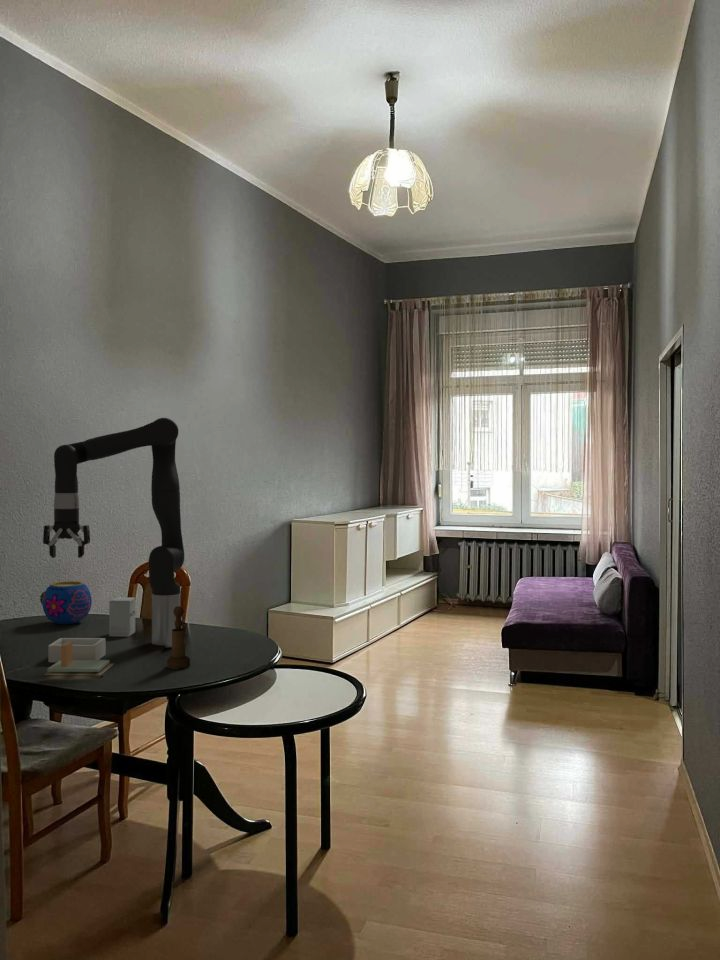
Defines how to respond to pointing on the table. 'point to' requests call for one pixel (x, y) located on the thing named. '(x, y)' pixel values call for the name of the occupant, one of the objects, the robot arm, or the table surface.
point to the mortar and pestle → (178, 643)
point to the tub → (79, 648)
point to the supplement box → (122, 617)
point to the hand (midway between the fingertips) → (66, 557)
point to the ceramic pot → (66, 602)
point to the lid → (75, 662)
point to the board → (77, 674)
